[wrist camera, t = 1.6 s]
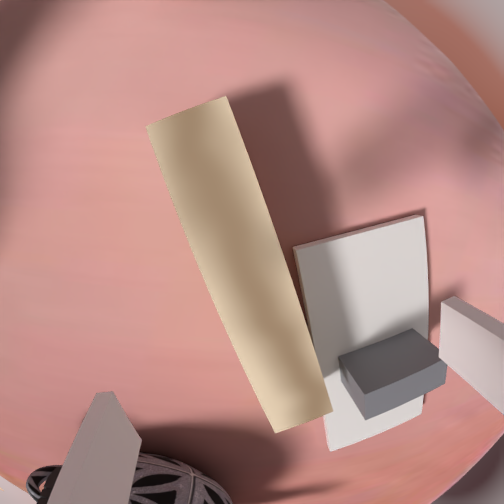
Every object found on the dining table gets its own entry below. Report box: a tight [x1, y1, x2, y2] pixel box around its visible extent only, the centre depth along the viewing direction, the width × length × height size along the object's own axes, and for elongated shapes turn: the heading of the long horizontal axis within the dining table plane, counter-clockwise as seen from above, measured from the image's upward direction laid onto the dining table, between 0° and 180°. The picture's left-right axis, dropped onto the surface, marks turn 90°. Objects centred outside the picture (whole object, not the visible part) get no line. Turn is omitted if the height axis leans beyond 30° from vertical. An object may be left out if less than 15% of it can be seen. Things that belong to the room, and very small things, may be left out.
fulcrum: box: [292, 215, 447, 452], centre depth 25 cm, size 12×24×7 cm, turn 13°
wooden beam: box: [146, 96, 333, 433], centre depth 22 cm, size 5×24×6 cm, turn 20°
